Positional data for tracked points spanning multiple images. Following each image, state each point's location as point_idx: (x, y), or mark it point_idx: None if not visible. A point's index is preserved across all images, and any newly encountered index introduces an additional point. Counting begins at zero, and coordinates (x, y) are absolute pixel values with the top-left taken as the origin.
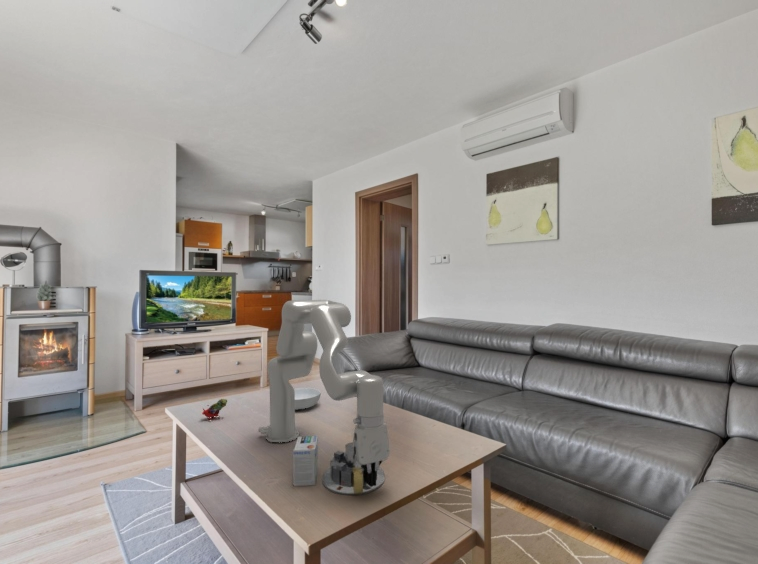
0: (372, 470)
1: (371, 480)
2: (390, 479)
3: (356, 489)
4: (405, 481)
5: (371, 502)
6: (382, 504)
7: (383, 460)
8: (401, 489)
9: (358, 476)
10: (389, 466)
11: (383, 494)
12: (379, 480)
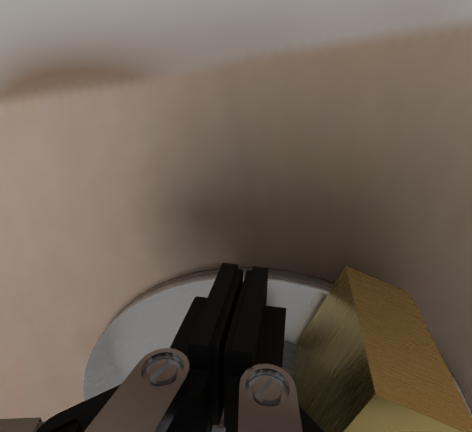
0: (209, 382)
1: (261, 298)
2: (82, 302)
3: (400, 304)
4: (9, 234)
5: (331, 159)
6: (277, 84)
7: (14, 429)
8: (65, 174)
9: (420, 391)
10: (38, 392)
11: (199, 195)
12: (152, 318)
